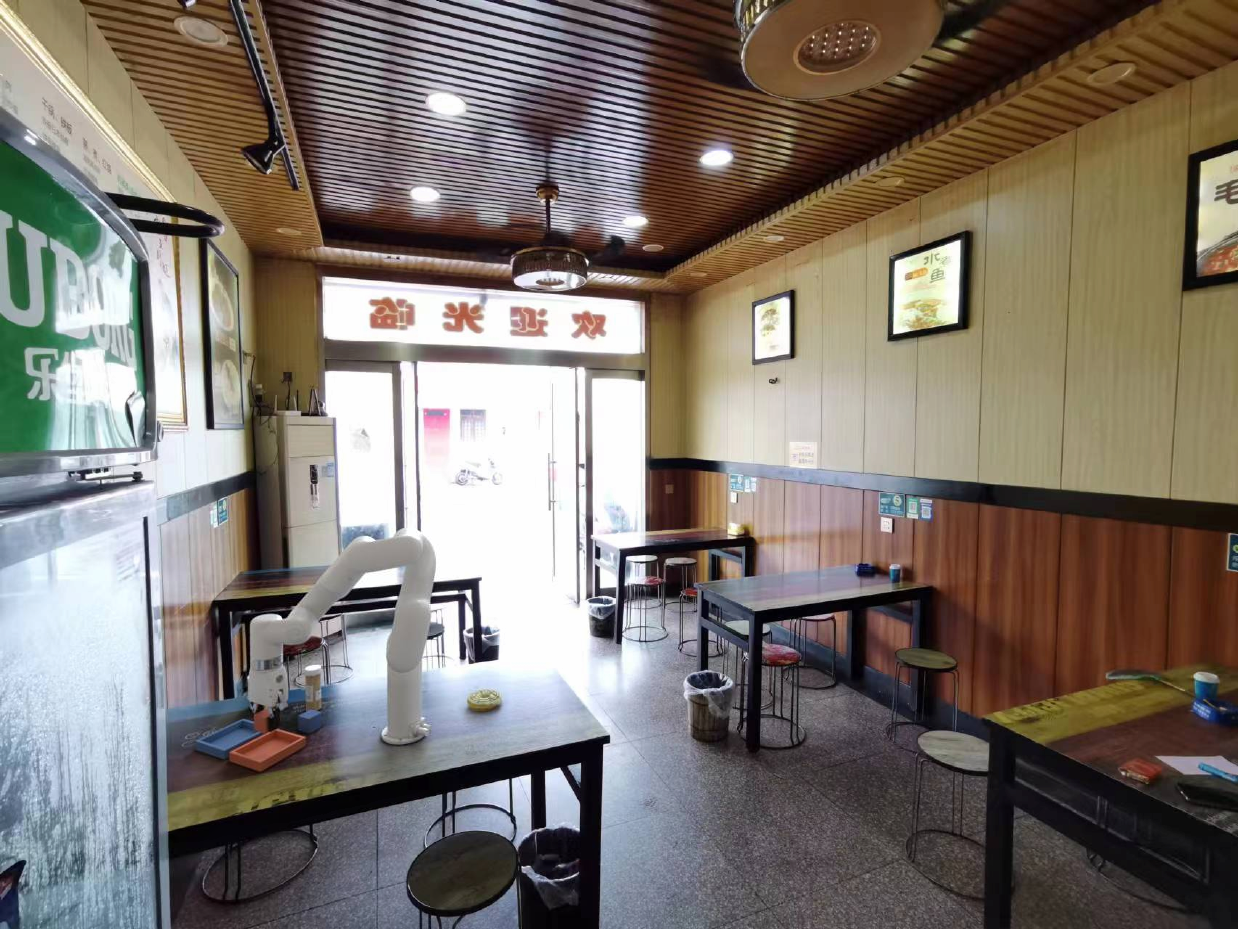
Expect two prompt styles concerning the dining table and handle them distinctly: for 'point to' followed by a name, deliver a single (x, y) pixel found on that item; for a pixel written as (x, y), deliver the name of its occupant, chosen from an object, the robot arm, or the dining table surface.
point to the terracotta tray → (267, 749)
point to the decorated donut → (484, 700)
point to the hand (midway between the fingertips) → (267, 727)
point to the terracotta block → (261, 721)
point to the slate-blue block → (309, 721)
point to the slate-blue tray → (228, 739)
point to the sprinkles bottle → (313, 687)
